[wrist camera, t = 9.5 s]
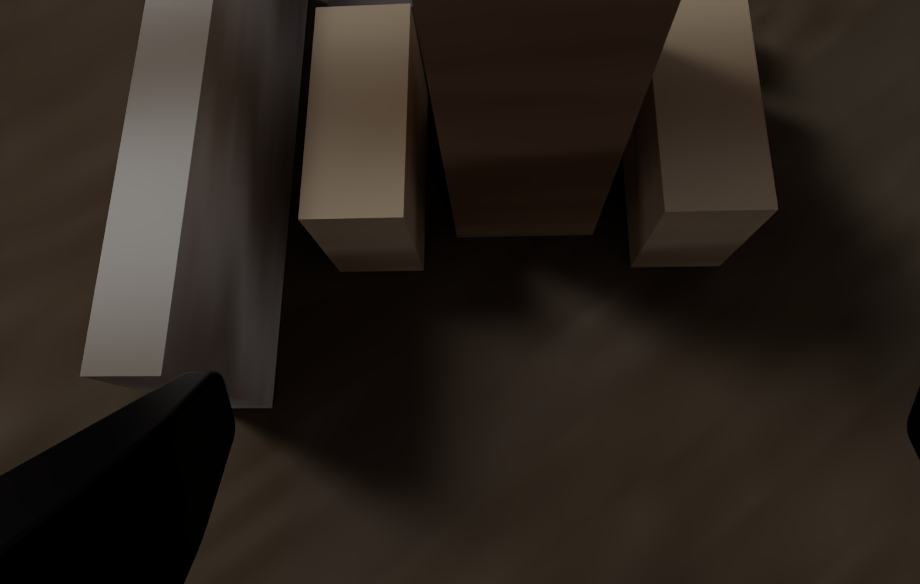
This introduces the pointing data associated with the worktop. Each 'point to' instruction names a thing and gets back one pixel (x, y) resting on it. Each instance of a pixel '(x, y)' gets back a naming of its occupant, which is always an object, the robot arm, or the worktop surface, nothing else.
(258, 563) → the worktop surface
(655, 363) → the worktop surface
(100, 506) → the robot arm
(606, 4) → the plain brown block
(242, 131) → the stepped pillar cluster
